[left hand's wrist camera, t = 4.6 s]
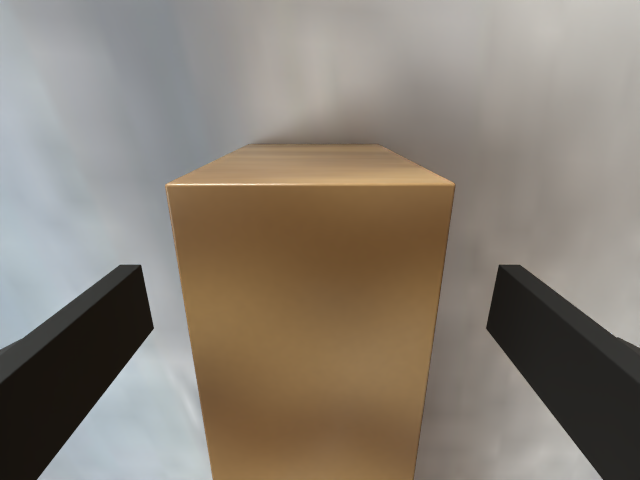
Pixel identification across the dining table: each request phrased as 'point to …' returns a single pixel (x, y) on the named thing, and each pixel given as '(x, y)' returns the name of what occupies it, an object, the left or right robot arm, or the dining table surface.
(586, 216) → the dining table surface
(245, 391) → the post
